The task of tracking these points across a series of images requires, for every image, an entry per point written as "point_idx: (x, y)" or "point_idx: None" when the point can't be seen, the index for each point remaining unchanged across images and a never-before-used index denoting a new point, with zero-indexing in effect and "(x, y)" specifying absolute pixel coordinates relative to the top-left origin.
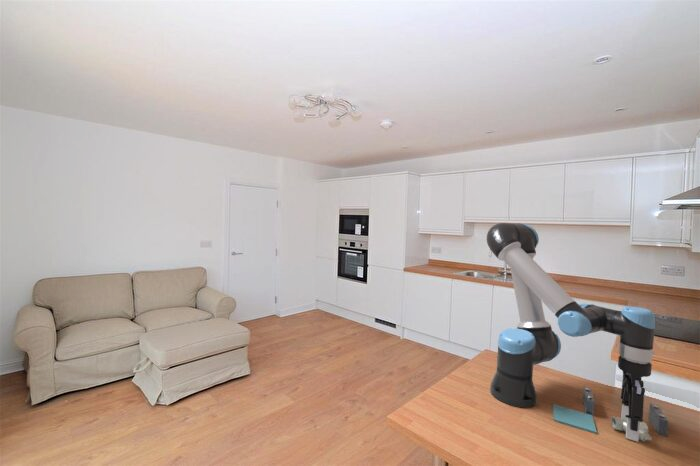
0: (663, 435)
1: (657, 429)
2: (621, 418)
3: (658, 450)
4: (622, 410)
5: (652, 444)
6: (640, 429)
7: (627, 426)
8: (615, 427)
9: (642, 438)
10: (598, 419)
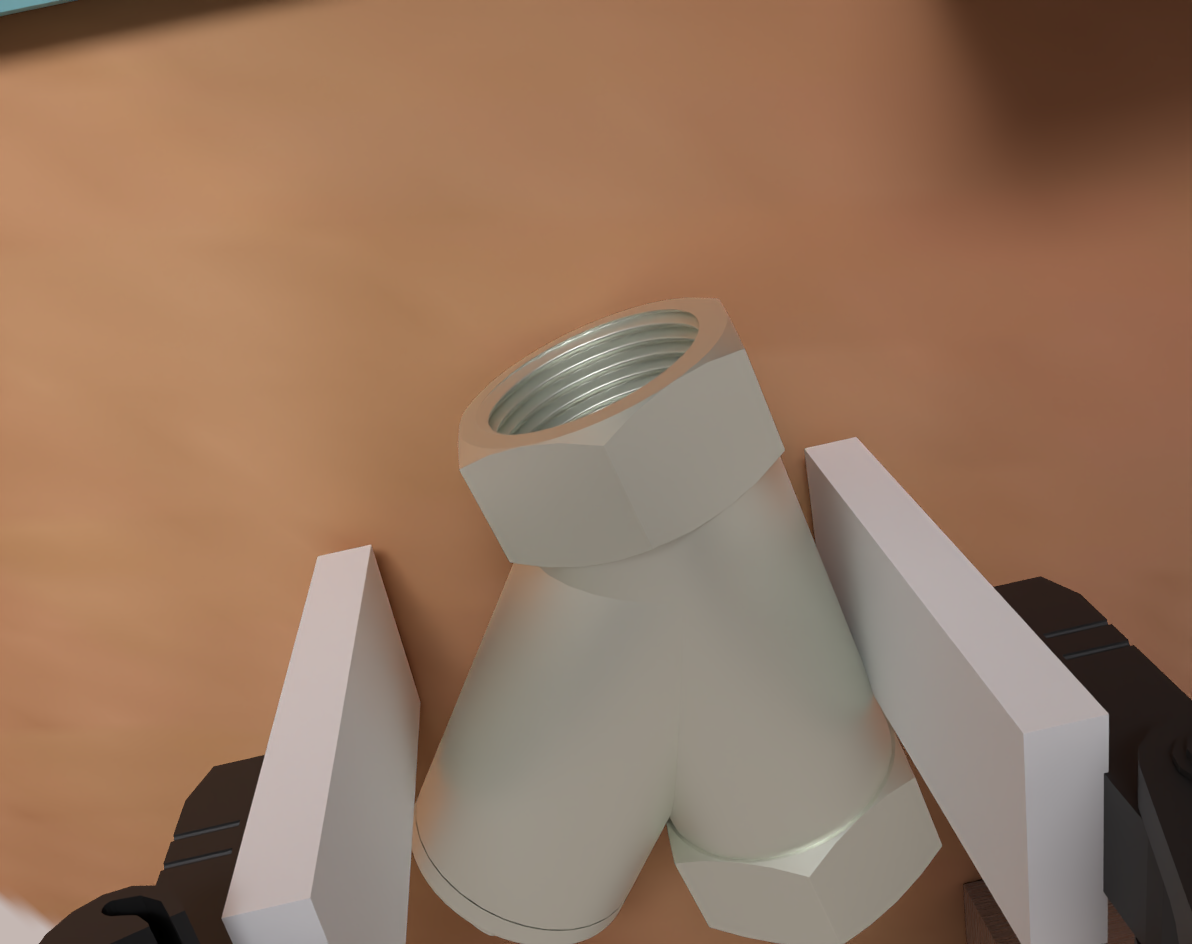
0: (971, 938)
1: None
2: (720, 558)
3: None
4: (953, 642)
5: None
6: (510, 866)
7: (278, 716)
8: (501, 389)
9: None
10: (804, 9)
